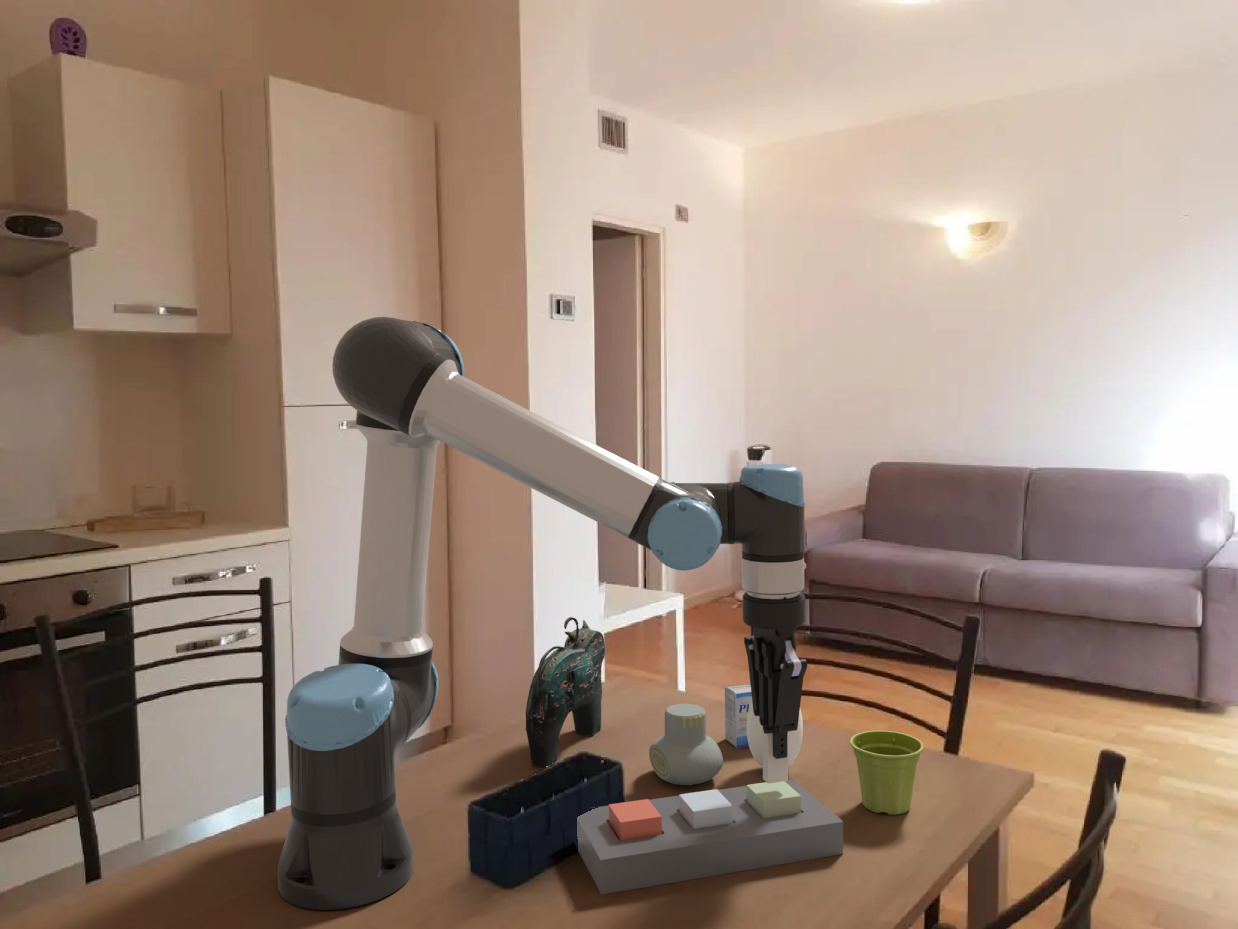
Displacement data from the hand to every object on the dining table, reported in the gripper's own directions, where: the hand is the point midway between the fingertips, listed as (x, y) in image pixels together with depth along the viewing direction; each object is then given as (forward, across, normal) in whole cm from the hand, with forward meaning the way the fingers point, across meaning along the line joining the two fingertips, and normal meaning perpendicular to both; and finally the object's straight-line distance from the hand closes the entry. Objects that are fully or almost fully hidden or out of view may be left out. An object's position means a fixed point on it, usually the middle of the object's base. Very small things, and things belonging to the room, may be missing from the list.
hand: (775, 779), depth 120 cm
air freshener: (+8, +21, +4) cm, 22 cm away
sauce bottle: (+8, +19, -9) cm, 22 cm away
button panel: (+7, 0, +9) cm, 12 cm away
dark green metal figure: (+7, +38, +17) cm, 42 cm away
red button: (+4, 0, +18) cm, 19 cm away
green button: (+4, 0, 0) cm, 4 cm away
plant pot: (+8, +4, -18) cm, 20 cm away
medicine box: (+8, +31, -11) cm, 33 cm away
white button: (+4, 0, +9) cm, 10 cm away
